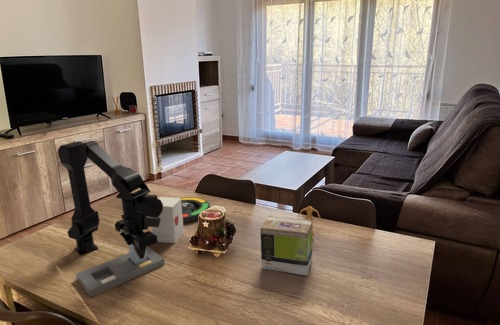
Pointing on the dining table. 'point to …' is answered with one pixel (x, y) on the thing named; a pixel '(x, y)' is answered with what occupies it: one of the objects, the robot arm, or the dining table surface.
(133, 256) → the plug
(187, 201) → the electronic game
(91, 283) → the panel
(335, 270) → the dining table surface
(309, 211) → the figurine
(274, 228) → the tea box
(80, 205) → the robot arm
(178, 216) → the supplement box
